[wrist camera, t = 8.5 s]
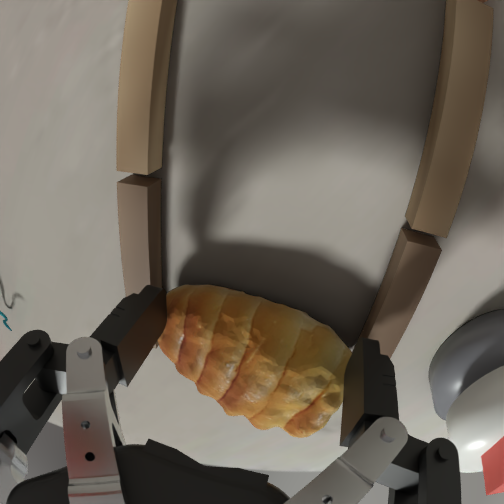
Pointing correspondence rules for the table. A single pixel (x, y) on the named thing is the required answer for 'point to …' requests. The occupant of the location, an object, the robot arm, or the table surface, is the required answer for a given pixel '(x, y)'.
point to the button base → (466, 359)
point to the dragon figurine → (5, 320)
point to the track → (425, 188)
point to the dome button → (480, 429)
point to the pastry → (256, 357)
